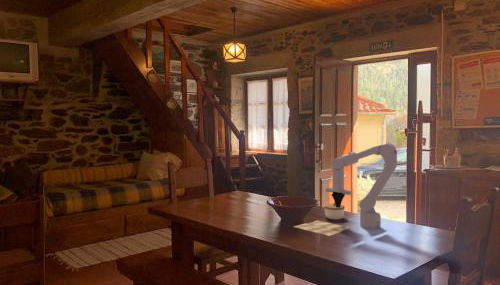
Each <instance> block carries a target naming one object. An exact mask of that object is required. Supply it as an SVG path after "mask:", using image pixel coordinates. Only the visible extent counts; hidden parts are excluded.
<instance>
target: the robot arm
mask: <svg viewBox="0 0 500 285" xmlns="http://www.w3.org/2000/svg"><path fill="white" fill-rule="evenodd" d="M373 155H376V156H379V155H380V157H382V158H383V160H384V164H385V166H383V169H382V171H381V172H380V174H379V175H378V177H377V179H376V180H375V181H374V184H373V185H372V187H371V188H370V190H369V191H368V193H367V194H366V196H364V198H363V199H361V200H360V202H359V226H360V227H361V228H364V229H370V230H377V229H381V225H382V224H381V223H382V222H381V221H382V219H381V218H382V217H381V214H380V212H377V211H376V209H375V206H376V205H377V204H376V201H377V199H378V198H379V195H380V194H381V193H382V191H383V189H384V188H385V186H386V184H387V182H389V179H390V178H391V177H392V175H393V173H394V171H395V170H396V168H397V167H398V151H397V149H396V146H395V145H394V144H393V143H389V142H388V143H385V144H379V145H375V146H372V147H370V148H367V149H365V150H362V151H360V152H358V153H357V152H354V151H349V152H347V154H344V155H339V157H335V158H333V159H332V160H331V162H330V163H331V167H332V187H326V188H325V192H326V193H328V192H329V193H331V196H332V198H333V201H334V203H335V205H336V207H338V208H339V207H340V206H341V205H342V202H343V200H344V198H345V196H346V195H347V196H351V195H352V190H349V189H345V171H344V168H345V167H348V166H352V165H354V164H357V163H359V160H360V159H363V158H366V157H369V156H373Z"/></svg>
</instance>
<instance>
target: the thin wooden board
mask: <svg viewBox="0 0 500 285" xmlns="http://www.w3.org/2000/svg"><path fill="white" fill-rule="evenodd" d="M293 228H296V229H301V230H304V231H309V232H312V233H316V234H320V235H325V236H327V237H330V236H333V235H337V234H340V233H342V231H337V230H333V229H329V228H325V227H320V226H316V225H312V224H308V223H307V222H305V223H302V224H299V225H294V226H293Z"/></svg>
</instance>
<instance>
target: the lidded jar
mask: <svg viewBox="0 0 500 285" xmlns="http://www.w3.org/2000/svg"><path fill="white" fill-rule="evenodd" d="M324 214H325V216H326V218H327V219H328V220H341V219H342V218H343V217H344V214H345V205H343V204H341V206H340V207H339V208H338V207H336V205H335V202H333V203H326V204H325V205H324Z"/></svg>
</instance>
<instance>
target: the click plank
mask: <svg viewBox="0 0 500 285" xmlns="http://www.w3.org/2000/svg"><path fill="white" fill-rule="evenodd" d="M307 224H311V225H316V226H320V227H324V228H328V229H333V230H337V231H341V232H343V231H345V230H349V229H351V227H349V226H344V225H340V224H335V223H330V222H326V221H321V220H314V221H313V222H309V223H307Z"/></svg>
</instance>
